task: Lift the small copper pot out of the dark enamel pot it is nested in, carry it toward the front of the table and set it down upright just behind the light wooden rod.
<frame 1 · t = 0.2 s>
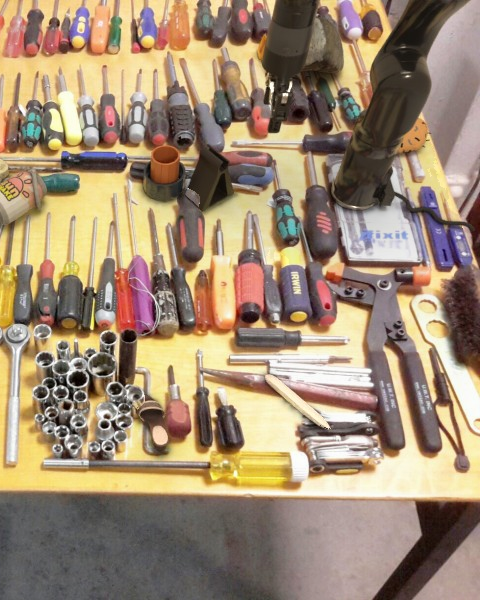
hand: (270, 117, 122), 19 cm above the table, tool pointing down, fingers open, 8 cm apart
stone: (301, 47, 150), point 10 cm above the table, touching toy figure
small pot: (163, 185, 140), point 1 cm above the table, touching big pot
heeled mule: (154, 425, 108), on the table
big pot: (163, 187, 140), on the table
toy: (399, 140, 143), on the table
light wooden rod: (295, 404, 108), on the table
phone stand: (208, 195, 138), on the table
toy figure: (279, 69, 156), point 3 cm above the table, touching stone
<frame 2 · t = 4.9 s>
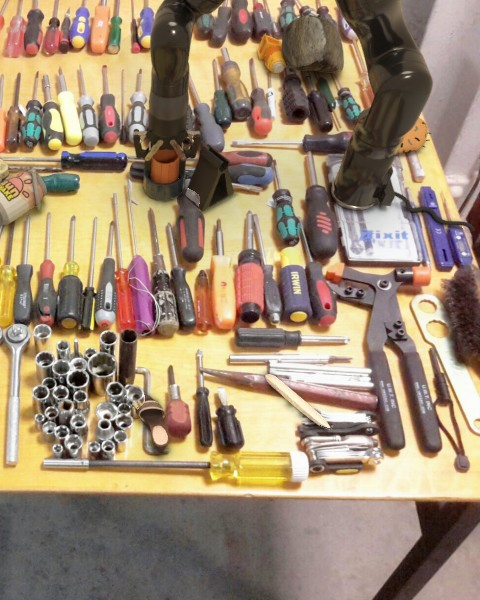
hand: (164, 170, 136), 5 cm above the table, tool pointing down, fingers closed on small pot, 6 cm apart
small pot: (163, 185, 139), point 1 cm above the table, touching big pot, gripper
everything else where it was.
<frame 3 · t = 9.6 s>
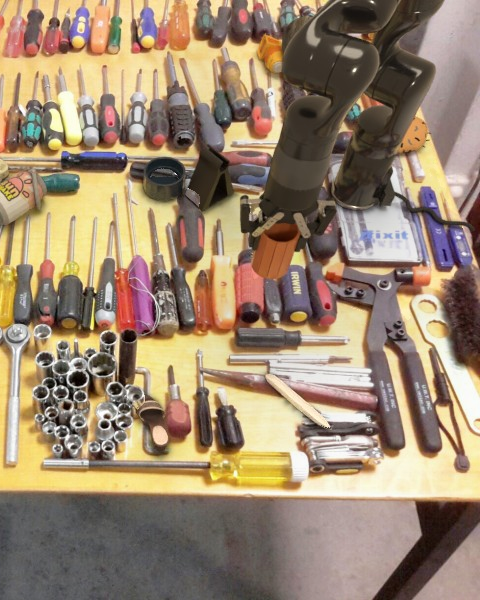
hand: (275, 247, 100), 22 cm above the table, tool pointing down, fingers closed on small pot, 6 cm apart
small pot: (269, 265, 104), point 17 cm above the table, touching gripper
everything else where it was.
when the fingers open (5 cm above the table, at t = 14.8 s): small pot stays where it is, on the table.
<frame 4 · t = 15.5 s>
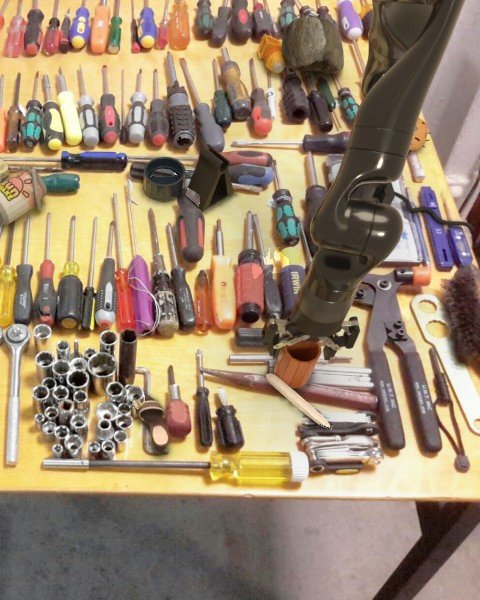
hand: (299, 354, 106), 6 cm above the table, tool pointing down, fingers open, 8 cm apart
small pot: (291, 373, 112), on the table
everything else where it was.
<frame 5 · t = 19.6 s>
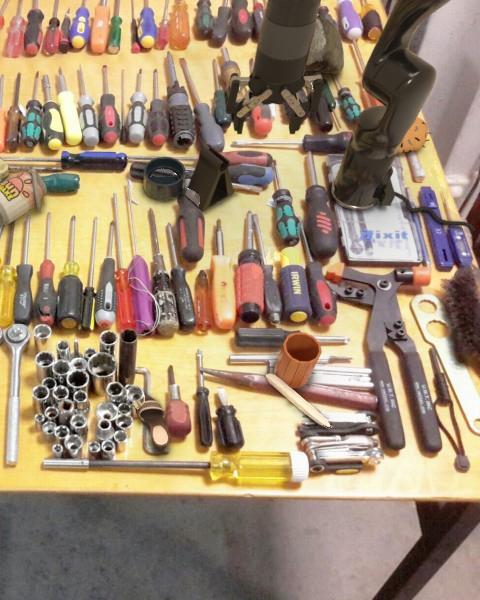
hand: (265, 131, 104), 30 cm above the table, tool pointing down, fingers open, 8 cm apart
small pot: (291, 373, 112), on the table, touching light wooden rod
light wooden rod: (296, 403, 108), on the table, touching small pot
everything else where it was.
at the end: small pot inside the target area on the table beside the light wooden rod (0.8 cm from its centre), on the table; small pot moved 51.2 cm from its start; small pot tilted 0° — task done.
